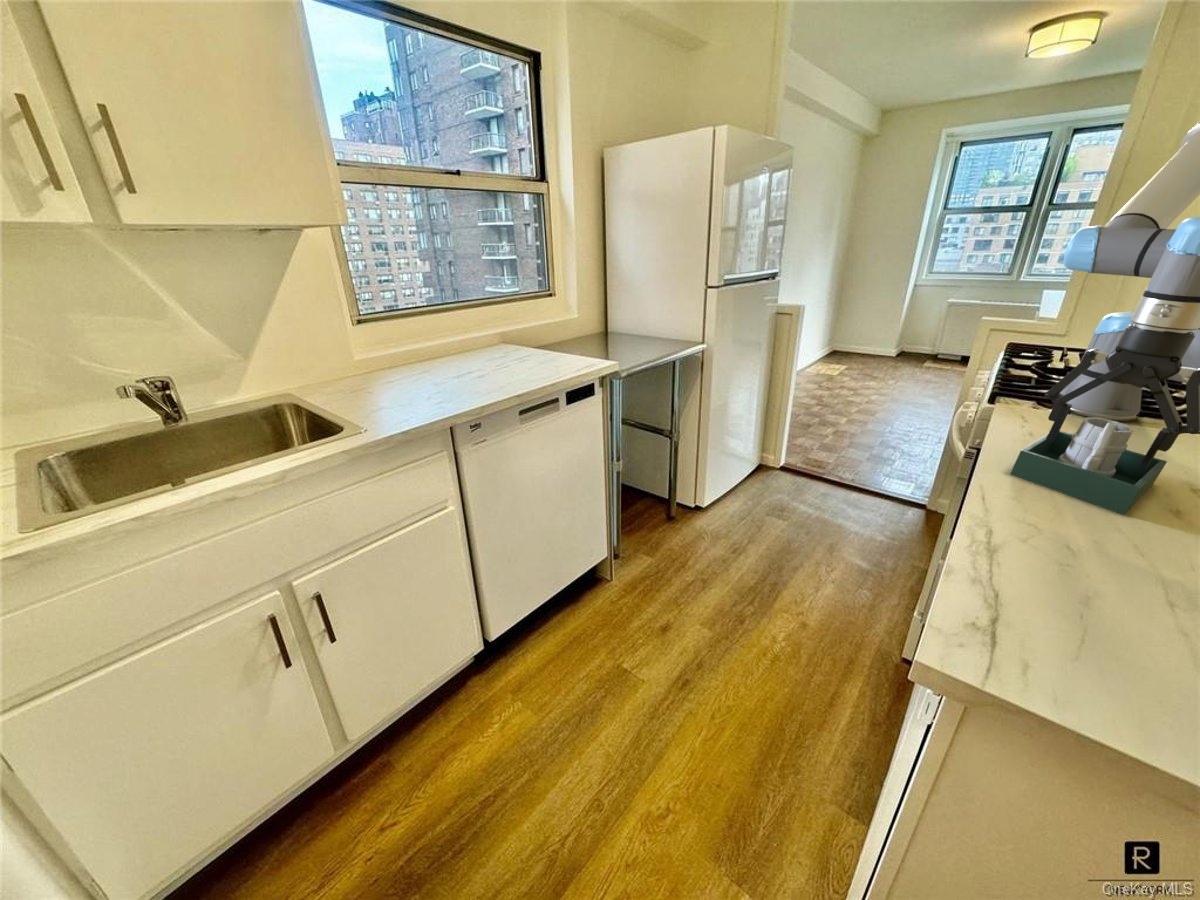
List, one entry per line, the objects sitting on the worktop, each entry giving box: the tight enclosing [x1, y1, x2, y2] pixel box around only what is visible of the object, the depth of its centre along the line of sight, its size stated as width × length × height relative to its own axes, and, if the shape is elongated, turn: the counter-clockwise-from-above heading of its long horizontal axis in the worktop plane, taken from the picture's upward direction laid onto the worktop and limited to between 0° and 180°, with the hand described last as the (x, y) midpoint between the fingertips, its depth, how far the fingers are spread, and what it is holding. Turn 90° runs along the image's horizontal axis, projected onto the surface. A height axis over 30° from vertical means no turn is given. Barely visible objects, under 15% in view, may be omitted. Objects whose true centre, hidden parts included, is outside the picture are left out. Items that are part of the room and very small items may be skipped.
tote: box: [1009, 430, 1168, 516], centre depth 86 cm, size 17×16×5 cm
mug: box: [1058, 417, 1134, 477], centre depth 84 cm, size 8×12×12 cm, turn 135°
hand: (1094, 451), depth 85 cm, fingers open, 12 cm apart
